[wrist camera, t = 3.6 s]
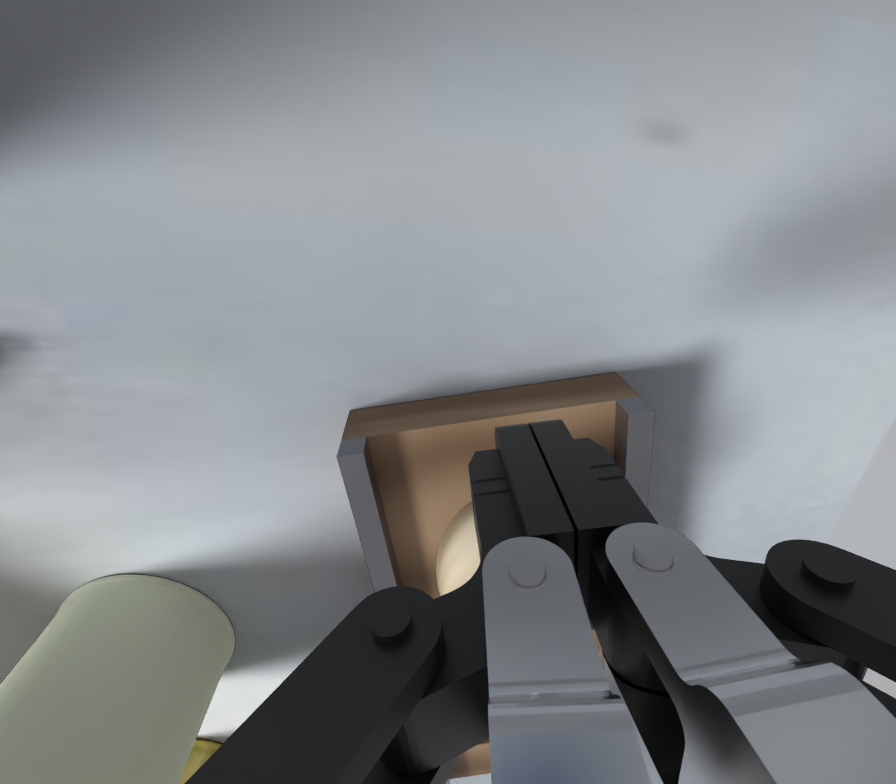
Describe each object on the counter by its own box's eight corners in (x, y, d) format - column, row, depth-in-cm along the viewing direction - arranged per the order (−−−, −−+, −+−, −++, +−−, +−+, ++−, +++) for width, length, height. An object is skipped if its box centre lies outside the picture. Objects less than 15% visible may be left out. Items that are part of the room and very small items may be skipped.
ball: (423, 470, 19) (427, 588, 13) (566, 449, 19) (627, 559, 13) (443, 573, 21) (452, 708, 16) (568, 555, 21) (620, 683, 16)
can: (216, 697, 28) (92, 1021, 17) (51, 666, 26) (-207, 1013, 15) (254, 598, 25) (129, 924, 14) (68, 553, 23) (-248, 897, 12)
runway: (349, 410, 20) (336, 456, 17) (615, 372, 20) (655, 410, 17) (432, 738, 32) (434, 804, 28) (603, 712, 32) (626, 776, 28)
